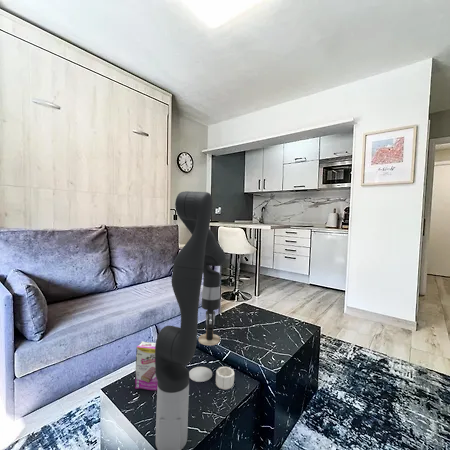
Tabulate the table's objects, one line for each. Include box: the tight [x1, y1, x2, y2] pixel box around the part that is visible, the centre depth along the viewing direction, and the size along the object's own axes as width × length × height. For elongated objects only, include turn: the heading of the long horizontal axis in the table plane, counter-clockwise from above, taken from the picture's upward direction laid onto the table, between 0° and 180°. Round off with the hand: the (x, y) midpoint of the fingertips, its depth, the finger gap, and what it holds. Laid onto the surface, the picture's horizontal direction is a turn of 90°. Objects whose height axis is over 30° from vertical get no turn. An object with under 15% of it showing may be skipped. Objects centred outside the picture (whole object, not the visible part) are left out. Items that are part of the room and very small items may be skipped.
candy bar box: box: [134, 341, 158, 392], centre depth 96 cm, size 11×5×16 cm, turn 84°
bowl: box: [215, 366, 235, 390], centre depth 100 cm, size 7×7×5 cm
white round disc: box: [189, 366, 213, 383], centre depth 105 cm, size 10×10×1 cm
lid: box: [198, 327, 221, 347], centre depth 103 cm, size 9×9×5 cm
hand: (209, 337), depth 103 cm, fingers closed on lid, 3 cm apart
